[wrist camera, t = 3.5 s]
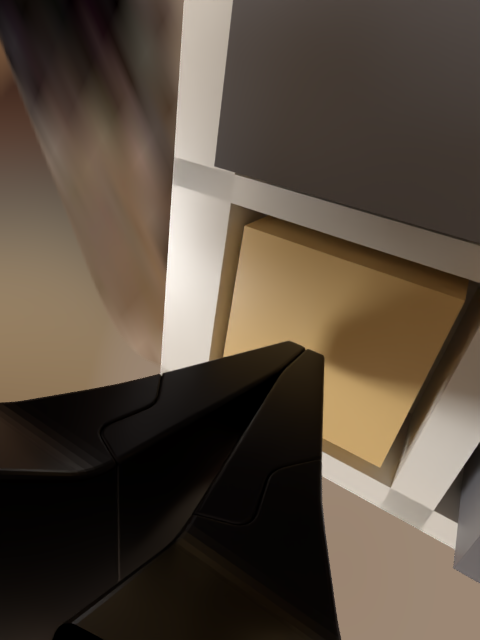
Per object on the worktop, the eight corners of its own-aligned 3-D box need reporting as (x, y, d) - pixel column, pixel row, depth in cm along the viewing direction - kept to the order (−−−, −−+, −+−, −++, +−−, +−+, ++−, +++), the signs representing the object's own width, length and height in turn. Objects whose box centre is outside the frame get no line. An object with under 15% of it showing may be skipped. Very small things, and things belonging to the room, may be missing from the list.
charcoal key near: (675, -138, 5) (812, -336, 3) (503, 209, 8) (504, 250, 5) (341, -131, 7) (262, -255, 5) (285, 153, 9) (213, 166, 7)
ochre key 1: (473, 255, 10) (465, 301, 7) (403, 399, 12) (380, 467, 10) (297, 202, 11) (244, 225, 9) (266, 338, 14) (218, 384, 11)
